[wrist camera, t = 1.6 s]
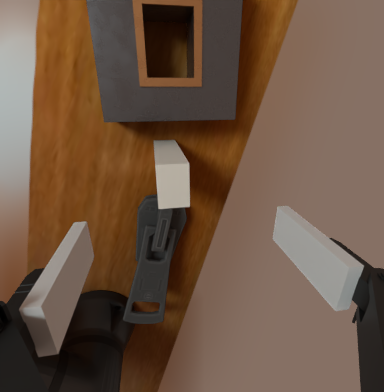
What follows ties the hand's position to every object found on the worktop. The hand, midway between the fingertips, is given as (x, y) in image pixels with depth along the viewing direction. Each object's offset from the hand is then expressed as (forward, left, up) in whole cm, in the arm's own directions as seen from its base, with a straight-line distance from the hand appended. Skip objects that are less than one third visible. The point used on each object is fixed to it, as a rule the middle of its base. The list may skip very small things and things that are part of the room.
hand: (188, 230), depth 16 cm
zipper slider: (-20, +3, -26) cm, 33 cm away
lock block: (+15, -1, -25) cm, 29 cm away
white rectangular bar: (0, 0, -26) cm, 25 cm away
